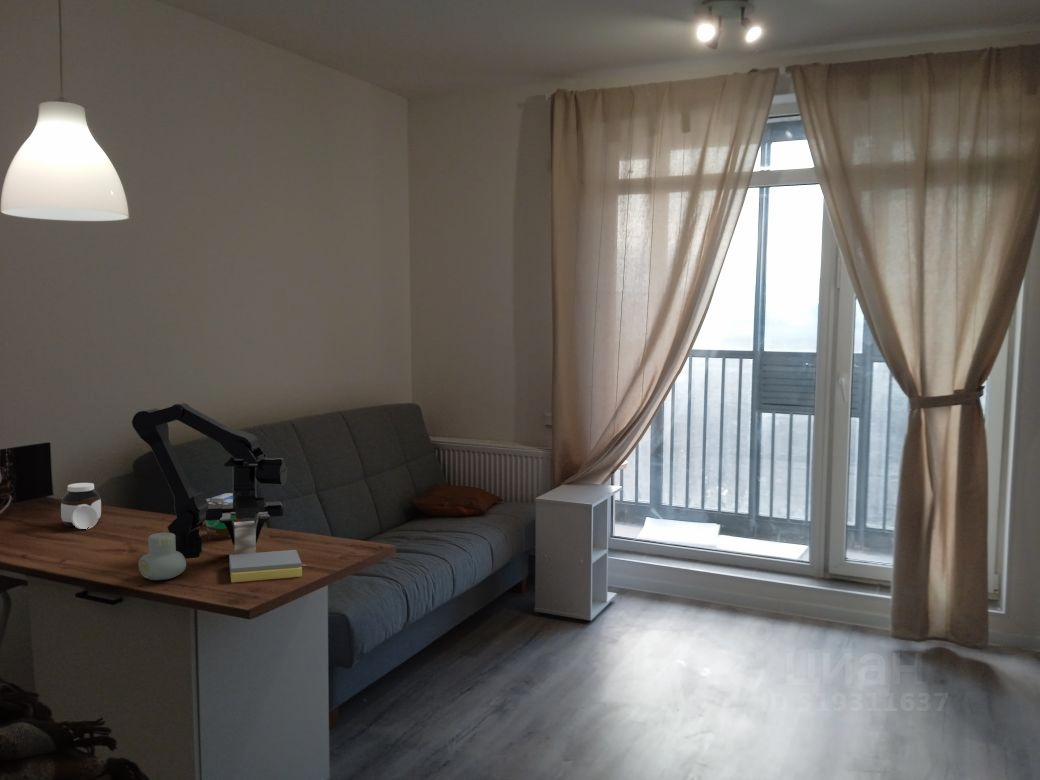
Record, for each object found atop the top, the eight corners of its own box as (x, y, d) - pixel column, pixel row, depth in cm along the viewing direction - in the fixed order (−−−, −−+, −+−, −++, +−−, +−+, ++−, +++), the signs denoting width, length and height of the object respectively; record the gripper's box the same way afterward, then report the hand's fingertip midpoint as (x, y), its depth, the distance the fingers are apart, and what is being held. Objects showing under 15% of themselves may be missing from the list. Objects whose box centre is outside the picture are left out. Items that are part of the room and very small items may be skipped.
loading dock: (231, 582, 195) (231, 569, 194) (229, 566, 207) (229, 554, 206) (302, 576, 200) (302, 564, 200) (296, 561, 212) (296, 549, 212)
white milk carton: (235, 554, 211) (235, 529, 210) (233, 546, 218) (233, 521, 218) (255, 553, 213) (255, 527, 212) (253, 544, 220) (253, 520, 219)
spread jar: (85, 519, 250) (84, 480, 249) (115, 523, 246) (114, 484, 245) (51, 528, 239) (50, 488, 238) (81, 532, 235) (80, 491, 234)
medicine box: (223, 528, 243) (223, 498, 243) (209, 527, 244) (209, 497, 243) (238, 522, 251) (237, 493, 250) (224, 521, 252) (224, 492, 251)
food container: (192, 537, 232) (192, 502, 231) (208, 532, 238) (208, 497, 237) (227, 543, 228) (227, 506, 227) (243, 537, 233) (243, 502, 233)
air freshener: (189, 579, 197) (189, 537, 196) (153, 586, 191) (152, 543, 190) (170, 568, 204) (170, 528, 203) (135, 575, 199) (134, 533, 198)
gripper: (205, 491, 203) (206, 555, 204) (285, 488, 210) (285, 549, 211) (205, 483, 213) (205, 543, 215) (281, 479, 220) (281, 538, 221)
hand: (244, 543), depth 215 cm, fingers closed on white milk carton, 5 cm apart
